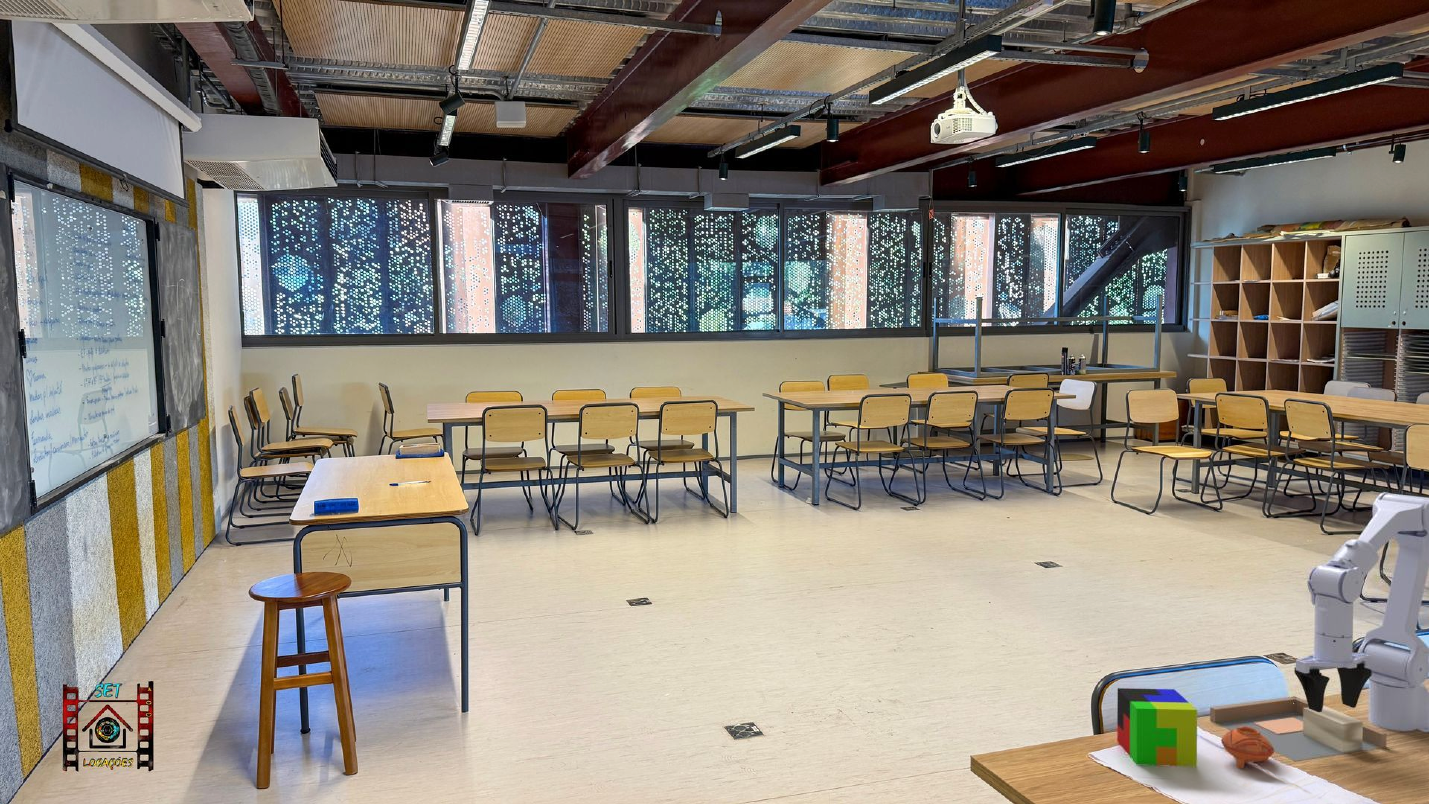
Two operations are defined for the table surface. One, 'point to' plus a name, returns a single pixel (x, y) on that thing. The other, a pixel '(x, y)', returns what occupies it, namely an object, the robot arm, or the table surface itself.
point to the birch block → (1333, 729)
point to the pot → (1247, 745)
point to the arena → (1286, 727)
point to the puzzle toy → (1157, 727)
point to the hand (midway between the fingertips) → (1332, 708)
